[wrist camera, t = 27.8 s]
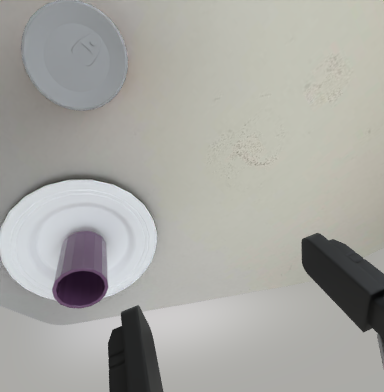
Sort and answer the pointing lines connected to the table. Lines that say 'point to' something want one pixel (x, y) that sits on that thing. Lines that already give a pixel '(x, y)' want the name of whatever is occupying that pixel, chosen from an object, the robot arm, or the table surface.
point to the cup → (81, 270)
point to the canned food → (74, 55)
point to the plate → (73, 222)
